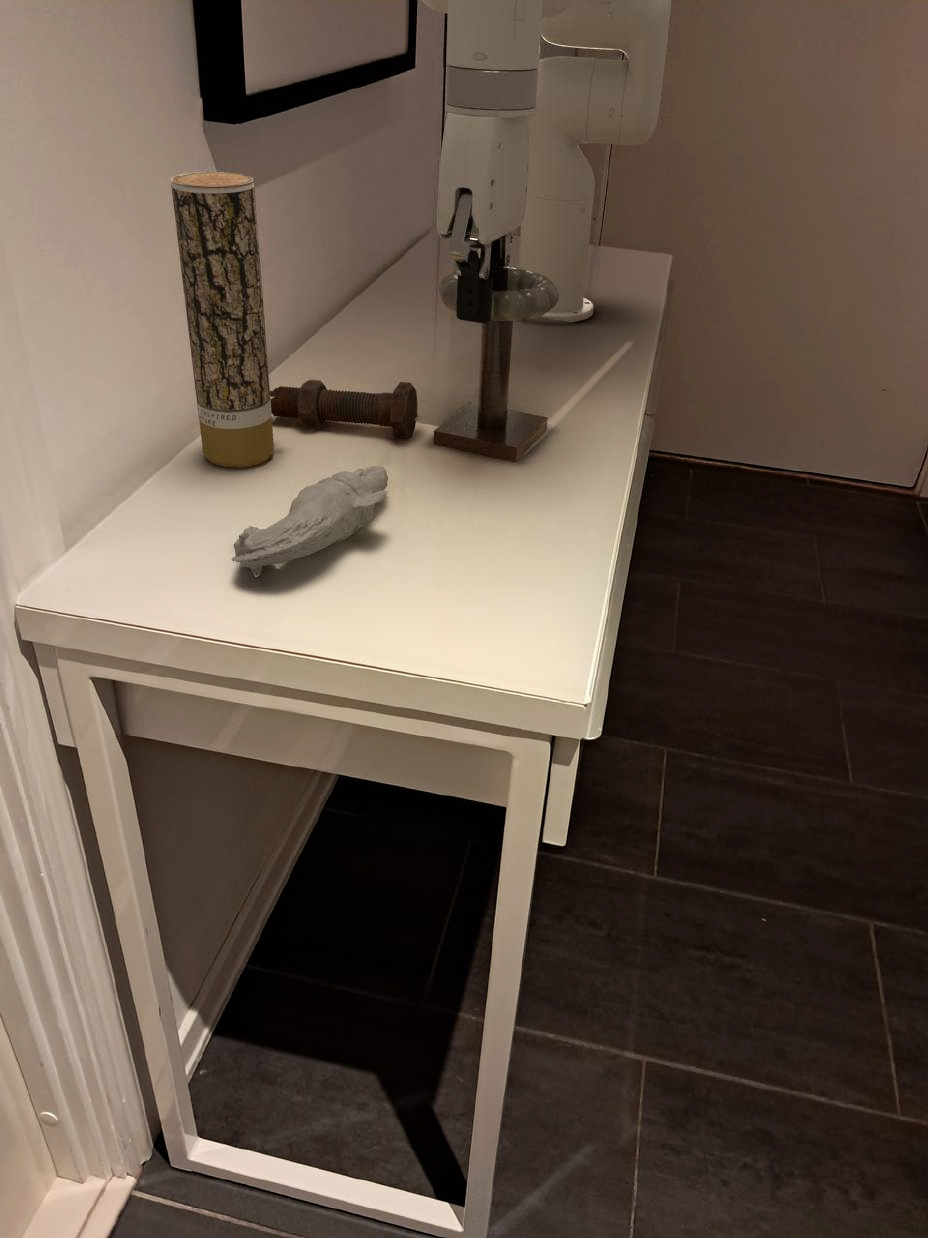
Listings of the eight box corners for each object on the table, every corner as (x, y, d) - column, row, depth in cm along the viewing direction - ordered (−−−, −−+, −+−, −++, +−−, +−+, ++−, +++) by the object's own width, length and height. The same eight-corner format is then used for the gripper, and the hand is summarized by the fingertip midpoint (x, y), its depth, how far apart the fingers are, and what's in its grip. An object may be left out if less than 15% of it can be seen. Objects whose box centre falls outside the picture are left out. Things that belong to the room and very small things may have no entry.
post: (468, 414, 108) (473, 298, 101) (546, 430, 105) (557, 311, 98) (433, 444, 101) (435, 321, 94) (516, 461, 98) (524, 336, 91)
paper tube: (259, 474, 93) (235, 189, 80) (191, 465, 94) (156, 182, 81) (284, 446, 99) (266, 175, 85) (220, 438, 100) (191, 169, 86)
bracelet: (467, 284, 101) (468, 258, 100) (571, 300, 98) (574, 273, 96) (419, 312, 93) (420, 283, 91) (531, 331, 89) (533, 302, 88)
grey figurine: (287, 465, 92) (200, 536, 75) (402, 435, 89) (340, 503, 72) (306, 516, 94) (225, 598, 76) (419, 489, 91) (363, 568, 73)
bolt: (278, 432, 106) (414, 443, 104) (260, 425, 101) (403, 437, 99) (283, 377, 106) (420, 387, 103) (265, 367, 101) (409, 378, 98)
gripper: (487, 80, 89) (478, 288, 99) (406, 97, 77) (405, 333, 87) (566, 87, 87) (549, 299, 97) (496, 105, 74) (484, 347, 84)
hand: (481, 313), depth 92 cm, fingers closed on bracelet, 3 cm apart
